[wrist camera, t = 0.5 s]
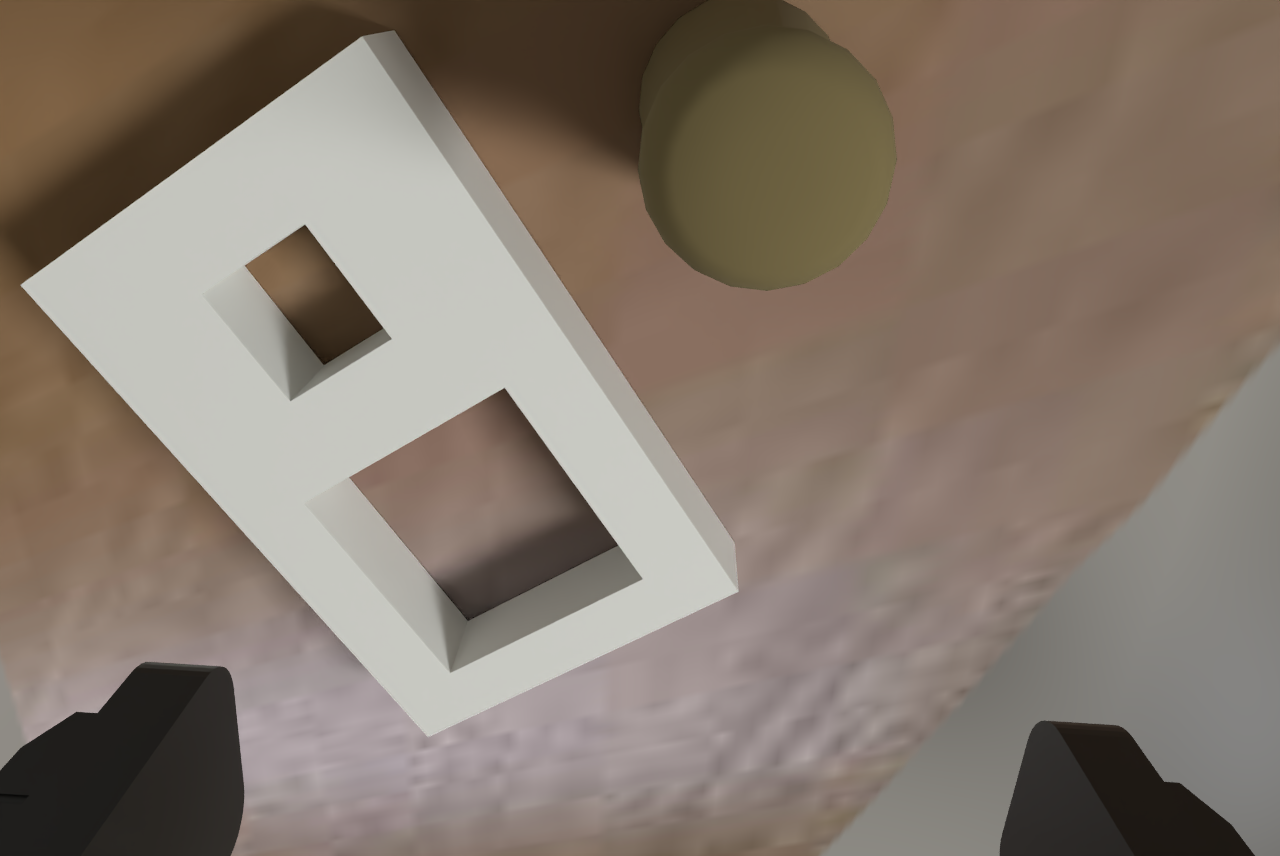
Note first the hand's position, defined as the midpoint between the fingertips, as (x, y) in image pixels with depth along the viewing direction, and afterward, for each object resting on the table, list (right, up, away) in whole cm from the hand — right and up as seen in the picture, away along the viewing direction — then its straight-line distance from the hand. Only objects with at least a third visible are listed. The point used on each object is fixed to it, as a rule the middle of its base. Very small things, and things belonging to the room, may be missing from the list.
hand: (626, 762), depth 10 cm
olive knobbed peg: (+3, +13, +18) cm, 23 cm away
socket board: (-7, +4, +23) cm, 24 cm away
